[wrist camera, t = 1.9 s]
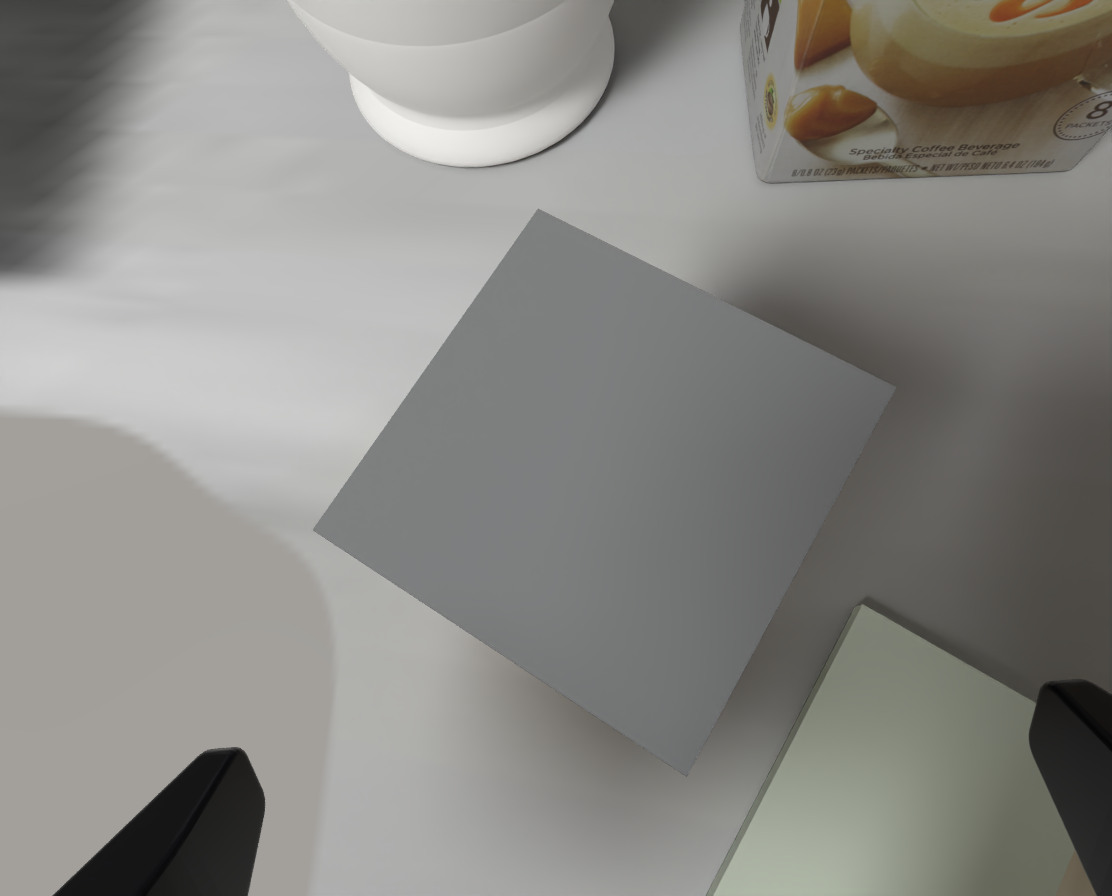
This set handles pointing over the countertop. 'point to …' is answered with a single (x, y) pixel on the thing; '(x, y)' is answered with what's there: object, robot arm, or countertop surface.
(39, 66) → the countertop surface
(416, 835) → the countertop surface
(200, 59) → the countertop surface
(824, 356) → the basalt block
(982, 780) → the stand
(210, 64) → the countertop surface
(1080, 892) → the trapdoor
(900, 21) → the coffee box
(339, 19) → the jar
